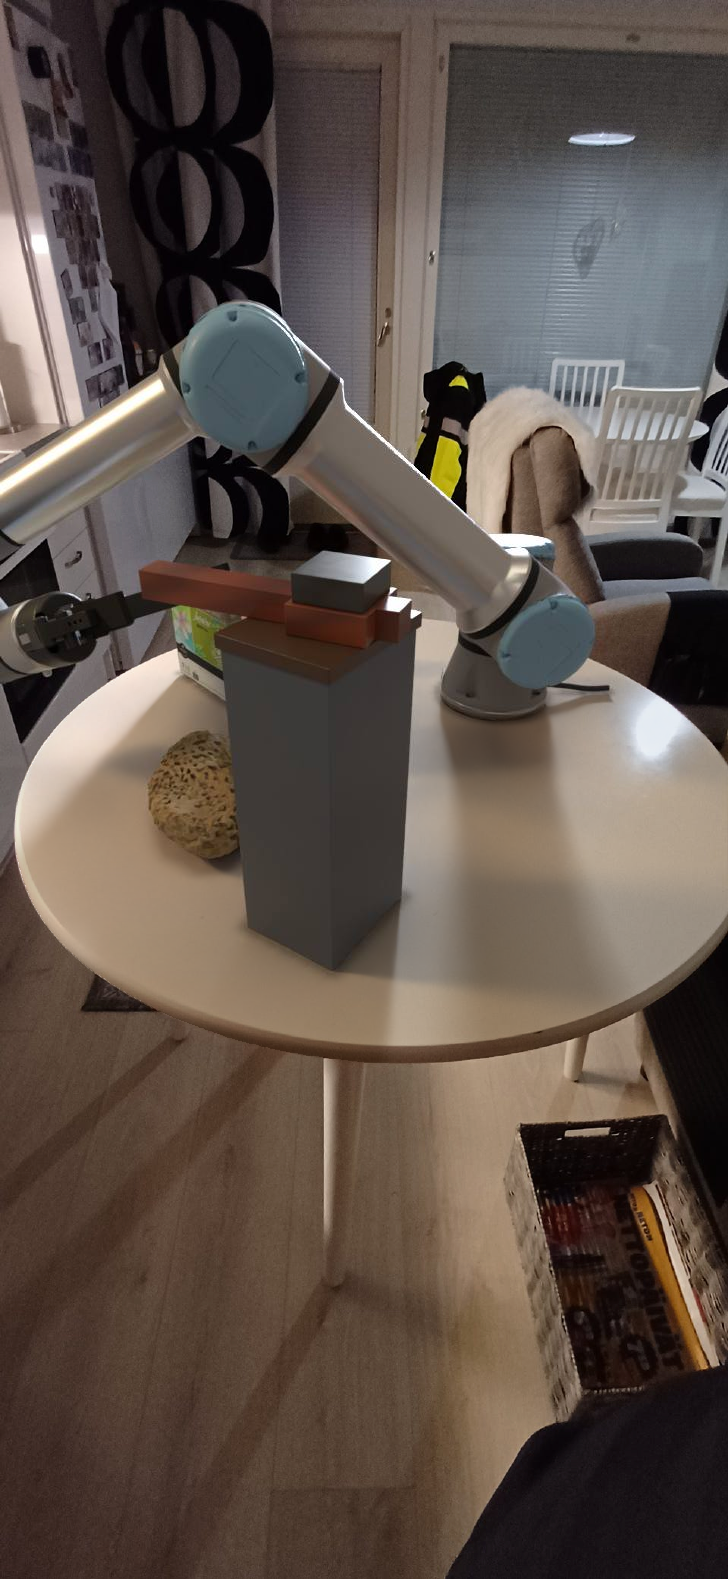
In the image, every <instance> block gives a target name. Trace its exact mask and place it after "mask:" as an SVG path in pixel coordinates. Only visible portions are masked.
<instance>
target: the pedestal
mask: <svg viewBox="0 0 728 1579" xmlns="http://www.w3.org/2000/svg"><path fill="white" fill-rule="evenodd" d="M422 622H423V612H422V611H417V610H414V609H412V610H411V629H410V631H409V632H408V633H407V634H406V635H405V636H404V638H403V639H402V640H401V641H400V642H399V643H398V644H397V643H391V642H386V641H380V640H374V641H373V642H372V643H371V644H370V645H369V646H368V647H367V648H366V649H363V648H358V647H352V646H347V645H341V644H336V643H330V642H324V641H319V640H313V639H308V638H302V637H297V636H291V635H286V630H285V624H283V623H278V622H272V621H266V620H261V619H255V618H249V617H247V618H245V619H243V620H240V621H238V622H236V623H234V624H232V625H230V626H228V627H226V628H224V629H222V630H219V631H217V632H215V633H214V644H215V648H217V649H221V658H222V668H223V679H224V689H225V699H226V702H225V706H226V707H225V709H226V719H227V720H226V721H227V729H228V737H229V740H230V750H231V761H232V771H233V781H234V791H235V802H236V812H237V822H238V832H239V843H240V845H239V851H240V862H241V872H242V883H243V892H244V894H243V895H244V904H245V913H246V914H245V915H246V922H247V925H246V926H247V927H248V928H250V929H251V930H253V931H255V932H257V933H259V934H261V935H263V936H265V937H267V938H269V939H271V940H273V941H274V942H277V943H278V944H280V945H282V946H284V947H286V948H288V949H290V950H292V951H293V952H295V953H297V954H299V955H301V956H303V957H305V958H307V959H309V960H311V961H313V962H315V963H316V964H318V965H321V966H322V967H324V968H325V969H328V970H330V971H332V972H333V971H334V970H335V969H336V968H337V967H338V966H339V965H340V964H341V963H342V961H343V960H344V959H345V958H346V957H347V956H348V955H349V954H350V953H351V952H352V951H353V949H355V947H356V946H357V945H358V944H359V943H360V942H361V941H362V939H363V938H364V937H366V935H368V933H369V932H371V930H372V929H373V928H374V927H375V926H376V925H377V924H378V923H379V921H380V920H381V919H382V918H383V917H384V916H385V915H386V914H387V913H388V912H389V911H390V910H391V909H392V907H394V905H395V904H396V903H397V902H398V901H399V900H400V899H401V898H402V896H403V878H404V861H405V860H404V859H405V842H406V824H407V806H408V805H407V804H408V790H409V772H410V770H409V769H410V751H411V750H410V749H411V734H412V733H411V732H412V716H413V715H412V714H413V713H412V712H413V700H414V699H413V697H414V681H415V679H414V678H415V663H416V662H415V661H416V644H417V642H416V641H417V630H418V629H420V628H421V627H422V624H423V623H422Z"/></svg>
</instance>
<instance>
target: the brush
mask: <svg viewBox="0 0 728 1579" xmlns="http://www.w3.org/2000/svg"><path fill="white" fill-rule="evenodd" d="M137 571H138V578H139V585H140V592H142V598H143V599H147V600H153V601H159V602H164V603H170V604H176V605H181V606H187V607H193V608H198V609H204V610H210V611H215V612H221V613H227V614H232V615H238V616H244V617H249V618H255V619H261V620H266V621H272V622H278V623H283V624H285V630H286V635H291V636H297V637H302V638H308V639H313V640H319V641H324V642H330V643H336V644H341V645H347V646H352V647H358V648H363V649H366V648H367V647H368V646H369V645H370V644H371V643H372V642H373V641H374V640H380V641H386V642H391V643H397V644H398V643H399V642H400V641H401V640H402V639H403V638H404V636H405V635H406V634H407V633H408V632H409V631H410V629H411V610H413V608H412V607H413V600H412V599H411V598H404V597H398V588H397V587H392V580H391V579H392V559H387V558H386V559H384V558H379V557H378V558H377V557H371V556H365V555H358V554H357V555H356V554H349V553H343V552H335V551H329V550H322V551H320V552H319V553H317V554H316V555H315V556H313V557H312V558H309V559H308V560H307V561H306V562H304V563H303V564H301V565H299V567H297V568H295V569H294V570H293V571H291V572H290V579H284V578H283V579H282V578H276V577H270V576H264V575H258V574H257V575H256V574H252V573H244V572H238V571H233V570H230V571H226V570H220V569H213V568H211V567H206V566H201V565H193V564H189V563H188V564H187V563H180V562H176V561H175V562H174V561H168V560H164V559H163V560H162V559H157V560H155V561H154V562H151V563H149V564H147V565H145V566H143V567H141V568H139V569H138V570H137Z"/></svg>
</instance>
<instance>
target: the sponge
mask: <svg viewBox="0 0 728 1579" xmlns="http://www.w3.org/2000/svg"><path fill="white" fill-rule="evenodd" d="M147 789H148V791H147V796H148V810H149V811H150V812H151V815H152V819H153V822H154V823H153V824H154V825H156V826H157V829H158V830H159V831H160V832H161V833H162V834H164V835H165V836H166V838H167V839H169V840H171V841H174V842H175V843H176V844H177V845H178V846H180V847H182V848H183V850H185V851H187V852H188V853H190V854H192V855H194V856H200V857H202V858H203V859H214V858H221V857H223V856H225V855H229V854H231V853H232V852H233V851H235V850H236V849H237V848H238V847H240V843H239V832H238V822H237V812H236V802H235V791H234V781H233V771H232V761H231V750H230V740H229V736H227V735H225V734H220V733H214V732H211V731H209V730H208V729H207V730H195V731H191V732H188V733H187V734H186V735H184V736H182V737H181V738H180V739H179V740H178V741H177V742H176V743H175V744H173V745H172V746H170V747H169V749H168V750H167V752H166V754H164V755H163V756H162V759H161V760H160V761H159V763H158V765H157V766H156V768H155V769H154V772H153V773H152V776H151V778H150V780H149V782H148V783H147Z"/></svg>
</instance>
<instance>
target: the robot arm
mask: <svg viewBox="0 0 728 1579" xmlns="http://www.w3.org/2000/svg"><path fill="white" fill-rule="evenodd" d="M344 388H345V387H344V380H343V378H341V376H340V375H339V374H337V373H336V372H335V371H334V370H333V369H332V368H331V367H329V365H328V364H327V363H326V362H325V361H323V360H322V359H321V357H319V356H318V355H317V354H316V353H315V352H314V351H313V350H312V349H311V348H309V347H308V345H306V344H305V343H304V342H303V341H302V340H301V339H300V338H299V337H298V336H296V334H294V333H293V332H292V329H291V328H290V327H289V325H288V324H287V322H286V321H285V320H284V319H283V318H282V317H281V316H280V314H278V313H277V312H276V311H275V310H273V309H272V308H270V307H268V306H267V305H265V304H264V303H260V302H257V301H254V300H249V299H233V300H230V301H229V300H228V301H226V302H223V303H221V304H219V305H216V307H214V308H212V309H210V310H208V311H207V312H206V313H204V314H203V315H201V317H200V318H199V319H198V320H197V322H196V323H195V325H194V326H193V327H191V329H190V330H189V333H188V335H187V336H186V337H185V338H184V339H182V340H181V341H180V342H178V343H177V344H176V345H174V346H173V347H171V349H169V350H167V351H166V352H165V353H163V354H161V355H160V357H159V363H158V369H157V371H155V372H153V373H152V374H150V375H148V376H147V377H146V378H144V379H143V380H141V381H139V382H138V383H137V384H136V385H134V386H133V387H130V389H128V390H126V391H125V392H123V393H122V394H121V395H119V396H117V397H116V398H114V399H113V400H110V402H108V403H107V404H105V405H104V406H102V407H101V408H99V409H98V410H96V411H95V412H93V413H92V414H90V415H89V416H87V417H85V418H84V419H82V420H81V421H79V422H78V423H76V424H75V425H73V426H72V427H70V428H69V429H67V430H66V431H64V432H63V433H61V434H60V435H59V436H57V437H55V438H54V439H52V440H51V441H49V442H48V443H46V444H45V445H43V446H42V447H40V448H39V449H37V450H36V451H34V452H33V453H31V454H29V455H28V456H27V457H25V458H23V459H22V460H21V461H19V462H17V463H16V464H15V465H13V466H11V467H10V468H9V469H7V470H5V471H4V472H3V473H1V474H0V561H2V560H3V559H5V558H7V557H8V556H10V555H12V554H13V553H15V552H17V551H18V550H20V549H21V548H22V547H23V546H25V545H26V544H28V543H29V542H30V541H32V540H34V539H36V538H37V537H39V536H40V535H42V534H43V533H45V532H46V531H48V530H50V529H51V528H53V527H54V526H56V525H58V524H60V523H61V522H63V521H64V520H66V519H67V518H69V517H71V516H72V515H74V514H76V513H77V512H79V511H80V510H81V509H84V508H85V507H87V506H88V505H90V504H92V503H93V502H94V501H96V500H98V499H99V498H101V497H102V496H104V495H106V494H107V493H109V492H110V491H112V490H114V489H115V488H117V487H118V486H120V485H122V484H123V483H126V481H128V480H130V479H131V478H133V477H134V476H136V475H138V474H139V473H140V472H143V471H144V470H145V469H147V468H148V467H150V466H152V465H153V464H155V463H157V462H158V461H159V460H161V459H163V458H164V457H166V456H168V455H169V454H171V453H173V452H175V451H176V450H177V449H179V448H181V447H182V446H184V445H185V444H187V443H188V442H190V441H192V440H193V439H195V438H197V437H201V438H205V439H209V440H211V439H212V441H214V442H215V443H218V444H219V445H220V446H222V447H224V448H226V449H228V450H232V451H234V452H238V453H241V454H243V455H244V456H246V457H247V458H248V459H249V460H251V462H253V463H254V464H255V465H257V466H258V467H259V468H260V469H261V470H263V472H265V473H267V474H268V475H269V476H271V477H272V478H273V479H276V478H285V477H295V478H296V479H298V480H299V481H300V482H301V483H303V484H304V485H305V486H306V487H307V488H308V489H310V490H311V491H312V492H313V493H314V494H316V496H318V497H319V498H320V499H322V500H323V501H324V502H325V503H327V504H328V505H329V506H330V507H331V508H333V509H334V510H335V511H336V512H338V514H340V515H341V516H342V517H344V518H345V519H346V520H347V521H348V522H349V523H351V524H352V525H353V526H354V527H355V528H357V530H359V531H360V532H362V533H363V534H364V535H365V536H366V537H368V538H369V539H370V540H371V541H373V542H374V544H376V545H377V546H379V548H381V549H382V550H383V551H385V552H386V553H387V554H388V555H389V556H391V557H392V558H393V559H394V560H395V561H397V562H398V563H399V564H400V565H401V566H403V567H404V568H405V569H406V570H407V571H408V572H410V573H411V574H412V575H413V576H415V577H416V578H417V579H418V580H419V581H421V582H422V583H423V584H424V585H425V586H427V587H428V588H429V589H430V590H432V591H433V592H434V593H435V594H436V595H437V596H439V598H441V599H442V600H444V602H446V603H447V604H449V605H450V606H451V607H452V608H453V609H454V610H455V624H456V627H457V629H458V635H457V642H456V643H457V644H456V645H455V647H454V650H453V652H452V655H451V656H450V659H449V661H448V664H447V666H446V668H445V670H442V671H441V676H440V680H441V682H440V683H441V685H440V695H441V698H442V700H443V701H444V702H445V703H446V704H447V705H448V706H449V707H450V708H452V709H454V710H455V711H456V712H457V711H458V712H459V713H462V714H464V715H467V716H469V717H474V718H478V719H483V720H491V721H511V720H519V719H524V718H527V717H530V716H532V715H535V714H537V713H538V712H539V711H541V710H542V709H543V708H544V706H545V704H546V699H547V694H548V691H547V690H548V688H551V689H552V688H554V689H563V690H565V689H566V690H573V691H580V692H609V691H610V690H611V689H610V684H598V685H586V684H576V683H569V682H565V681H566V680H568V679H570V678H571V677H572V676H573V675H574V674H576V673H577V672H579V670H580V669H581V668H582V667H583V666H584V664H585V663H586V661H587V660H588V658H589V657H590V655H591V652H592V650H593V647H594V644H595V643H594V642H595V637H596V626H595V625H596V624H595V622H594V619H593V616H592V614H591V613H590V609H589V607H588V605H587V604H586V603H585V602H584V601H583V600H582V599H580V598H579V597H577V596H576V595H575V594H574V593H573V591H572V590H571V589H570V588H569V587H568V586H567V585H566V584H565V583H564V582H563V581H562V579H561V578H560V577H559V576H558V575H557V574H556V573H555V572H554V565H555V561H556V560H557V555H556V544H555V543H554V542H553V540H551V539H548V538H546V537H542V536H537V535H529V534H515V533H498V534H488V532H486V531H485V530H484V529H483V528H482V526H480V525H479V524H477V523H476V522H475V521H474V520H473V519H472V518H471V517H470V516H469V515H468V514H467V513H466V512H464V510H462V509H461V508H460V507H459V506H458V505H457V504H456V503H454V502H453V500H452V499H451V498H449V497H448V496H447V495H446V494H445V493H444V492H443V491H442V490H440V489H439V487H437V486H436V485H435V484H434V483H433V482H432V481H430V479H428V478H427V477H426V476H425V475H424V474H423V473H421V471H419V470H418V469H417V468H416V467H415V466H414V465H413V464H412V463H411V462H409V460H407V458H405V457H404V456H403V455H402V454H401V453H400V452H399V451H398V450H396V449H395V448H394V447H393V446H392V445H391V444H390V443H389V442H388V441H386V440H385V439H384V438H383V437H382V436H381V435H380V434H379V433H378V432H377V431H375V430H374V429H373V427H371V426H370V425H369V424H368V423H367V422H366V421H365V420H364V419H363V418H361V417H360V416H359V415H358V414H357V413H356V412H355V411H354V410H352V408H351V407H349V406H348V404H347V402H346V398H345V389H344ZM210 568H213V569H220V570H226V571H231V568H230V565H229V562H224V563H220V564H217V565H215V566H214V565H213V566H212V567H210ZM176 606H179V605H176V604H170V603H164V602H159V601H153V600H147V599H143V598H142V592H141V591H139V592H135V593H132V594H129V595H125V594H124V591H123V590H119V591H116V592H113V593H109V594H107V595H104V596H100V597H93V598H89V599H86V600H83V599H81V598H79V596H77V595H75V594H73V593H70V592H67V591H61V590H55V591H51V592H48V593H44V594H42V595H40V596H39V595H38V596H37V597H34V598H31V599H27V600H24V601H21V602H19V603H16V604H13V605H11V606H8V605H7V603H5V601H4V600H3V599H2V597H0V685H5V684H7V683H11V682H13V681H14V680H19V679H22V678H25V677H28V676H31V675H36V674H39V673H42V675H43V676H44V677H46V678H48V677H51V676H52V675H53V671H52V670H53V669H58V668H63V667H67V666H70V665H75V664H78V663H81V662H83V661H86V660H87V659H88V658H89V657H90V656H91V655H92V654H93V653H94V652H95V650H96V648H97V645H98V640H99V639H100V638H103V637H107V636H110V635H111V634H112V632H115V631H118V630H121V629H124V628H127V627H131V626H132V625H134V624H135V620H137V619H140V618H143V617H146V616H149V615H153V614H157V613H160V612H163V611H166V610H170V609H172V608H173V607H176Z"/></svg>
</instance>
